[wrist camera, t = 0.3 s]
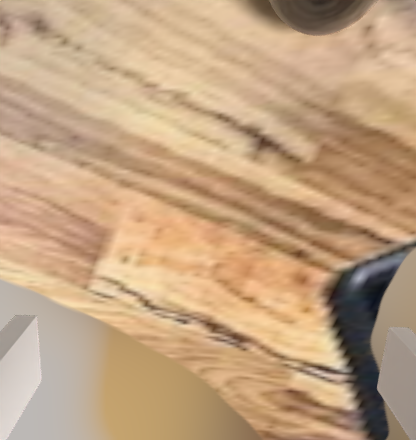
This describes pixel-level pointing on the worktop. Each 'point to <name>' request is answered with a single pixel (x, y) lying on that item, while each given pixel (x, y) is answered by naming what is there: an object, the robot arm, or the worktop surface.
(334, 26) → the black rounded cone
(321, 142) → the worktop surface
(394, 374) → the robot arm
